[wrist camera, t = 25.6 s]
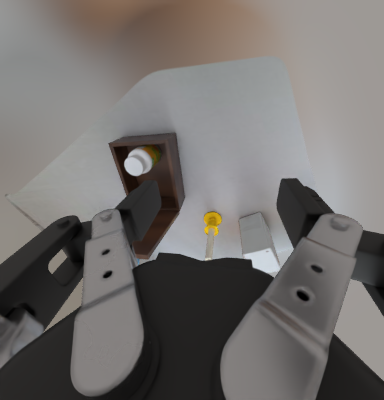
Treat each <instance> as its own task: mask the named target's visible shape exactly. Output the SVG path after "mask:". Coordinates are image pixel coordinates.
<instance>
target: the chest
mask: <svg viewBox="0 0 384 400" xmlns="http://www.w3.org/2000/svg"><path fill="white" fill-rule="evenodd" d="M108 144H109V147H110V149H111V152H112V155H113V158H114V161H115V164H116V167H117V169H118V172H119V175H120V178H121V181H122V184H123V187H124V190H125V192H126V195H127V196H128V194H129V193H130V192H131V191H133V190H134V189H136V188H138V187H139V186H140V185H141V184H142V183H143V182H144V181H147V180H155V181H157V184H158V188H159V192H160V197H161V208H160V210H179V211H180V209H181V206H182V204H183V201H184V199H185V195H184V188H183V181H182V174H181V167H180V160H179V153H178V146H177V138H176V133H172V134H158V135H145V136H131V137H122V138H120V139H117V140H115V141H113V142H110V143H108ZM150 144H156V145H157V146H158V147H159V148H160V150H161V159H160V161H159V162H158V163H157V164H156V165H155V166H154V167H153V168H152V169H151V170H150V171H148V172H147V173H144V174H141V175H139V176H133V175H131V174H129V173H128V172H127V171H126V169H125V166H124V162H125V160H126V159H127V158H128V155H129V153H130V152H131V151H132V150H134V149H136V148H137V147H139V146H141V145H150Z"/></svg>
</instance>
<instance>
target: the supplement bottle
mask: <svg viewBox="0 0 384 400" xmlns="http://www.w3.org/2000/svg"><path fill="white" fill-rule="evenodd" d="M160 159H161V150H160V148H159V147H158V146H157V145H156V144H150V145H141V146H139V147H137V148H136V149H134V150H132V151H131V152H130V153H129V155H128V158H127V159H126V160H125V162H124V166H125V169H126V171H127V172H128V173H129V174H131V175H133V176H139V175H141V174H144V173H147V172H148V171H150V170H151V169H152V168H153V167H154V166H155V165H156V164H157V163H158V162H159V161H160Z"/></svg>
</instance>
